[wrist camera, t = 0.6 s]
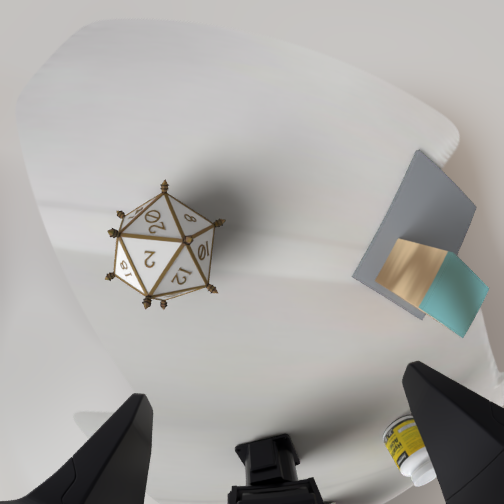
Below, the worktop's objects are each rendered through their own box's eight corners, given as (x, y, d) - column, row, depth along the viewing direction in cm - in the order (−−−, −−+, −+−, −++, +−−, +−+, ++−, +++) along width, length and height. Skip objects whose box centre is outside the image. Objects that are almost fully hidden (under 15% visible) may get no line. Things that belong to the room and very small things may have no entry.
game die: (163, 233, 27) (78, 199, 19) (237, 197, 24) (154, 137, 15) (173, 325, 24) (74, 317, 16) (259, 302, 21) (162, 285, 12)
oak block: (414, 306, 25) (462, 338, 17) (374, 280, 24) (422, 310, 17) (436, 268, 25) (489, 288, 17) (397, 238, 24) (453, 252, 16)
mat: (419, 318, 26) (422, 320, 26) (351, 276, 25) (354, 278, 24) (473, 206, 24) (476, 207, 24) (416, 150, 23) (419, 149, 23)
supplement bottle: (383, 423, 29) (415, 474, 19) (418, 408, 29) (454, 453, 19) (379, 447, 29) (406, 495, 20) (412, 433, 30) (443, 477, 20)
